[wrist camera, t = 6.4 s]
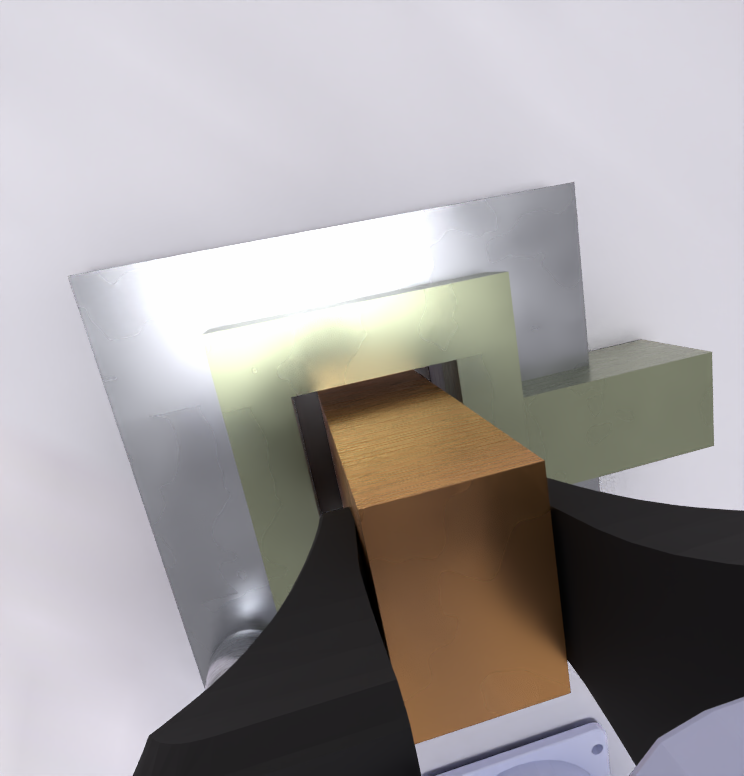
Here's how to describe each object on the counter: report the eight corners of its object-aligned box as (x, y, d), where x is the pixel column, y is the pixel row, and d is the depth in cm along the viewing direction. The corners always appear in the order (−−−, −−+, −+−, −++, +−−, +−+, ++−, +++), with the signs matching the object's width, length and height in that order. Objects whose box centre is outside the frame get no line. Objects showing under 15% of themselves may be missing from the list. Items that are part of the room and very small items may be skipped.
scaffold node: (653, 549, 20) (743, 615, 16) (218, 679, 18) (202, 791, 14) (632, 174, 16) (740, 144, 13) (88, 275, 14) (19, 275, 10)
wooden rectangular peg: (435, 500, 17) (570, 692, 9) (347, 524, 16) (409, 746, 9) (412, 369, 16) (545, 460, 8) (316, 391, 15) (357, 509, 7)
